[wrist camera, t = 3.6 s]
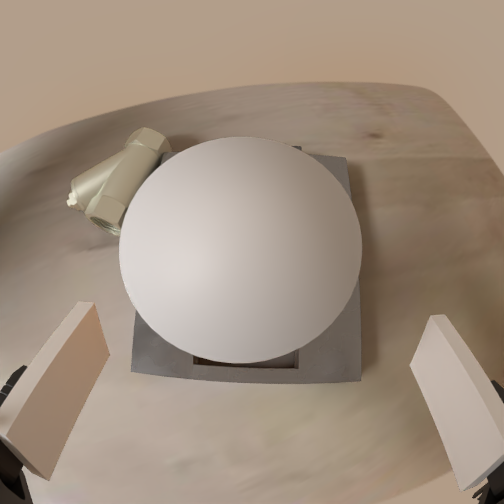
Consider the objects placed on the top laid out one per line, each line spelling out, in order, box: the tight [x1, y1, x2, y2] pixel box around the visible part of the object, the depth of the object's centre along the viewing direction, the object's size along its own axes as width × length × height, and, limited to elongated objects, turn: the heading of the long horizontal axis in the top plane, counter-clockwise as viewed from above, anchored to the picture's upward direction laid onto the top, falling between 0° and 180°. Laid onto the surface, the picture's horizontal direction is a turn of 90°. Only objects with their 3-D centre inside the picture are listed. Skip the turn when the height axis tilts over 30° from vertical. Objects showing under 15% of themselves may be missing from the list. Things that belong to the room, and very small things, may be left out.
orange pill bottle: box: [119, 136, 362, 363], centre depth 14 cm, size 6×6×14 cm
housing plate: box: [131, 152, 361, 384], centre depth 21 cm, size 14×16×2 cm
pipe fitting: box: [67, 127, 172, 237], centre depth 22 cm, size 8×4×7 cm
